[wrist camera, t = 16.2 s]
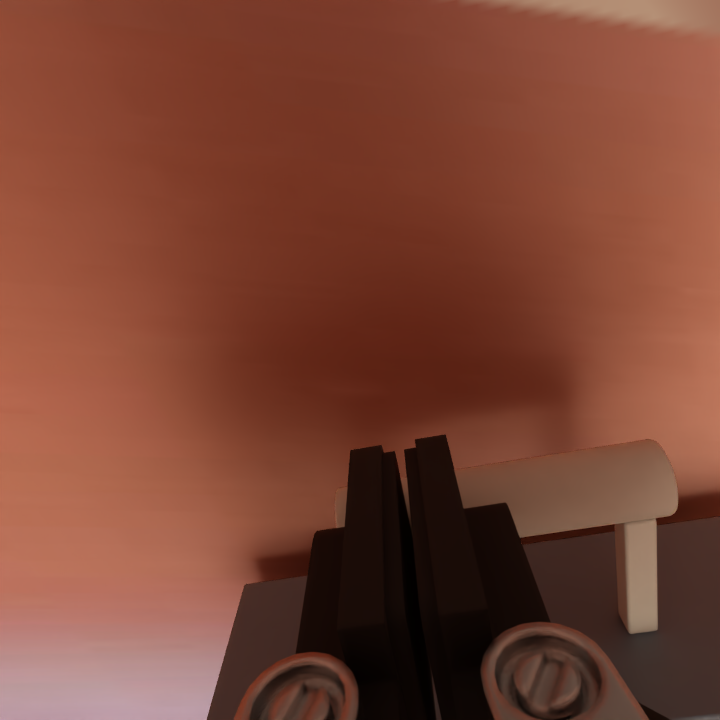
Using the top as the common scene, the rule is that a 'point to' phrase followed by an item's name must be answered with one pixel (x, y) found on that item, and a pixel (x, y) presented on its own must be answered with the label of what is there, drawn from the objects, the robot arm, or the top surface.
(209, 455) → the top surface
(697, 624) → the drawer
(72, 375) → the top surface
